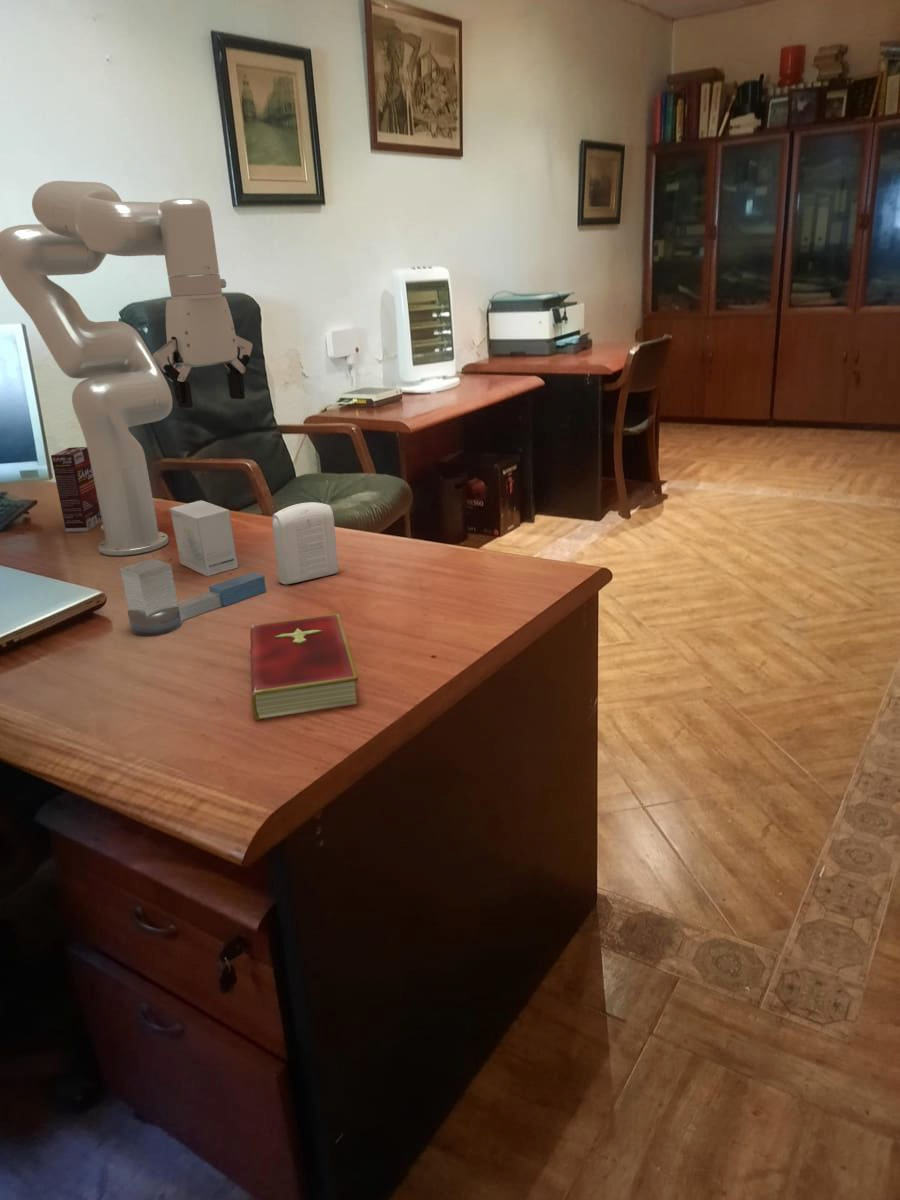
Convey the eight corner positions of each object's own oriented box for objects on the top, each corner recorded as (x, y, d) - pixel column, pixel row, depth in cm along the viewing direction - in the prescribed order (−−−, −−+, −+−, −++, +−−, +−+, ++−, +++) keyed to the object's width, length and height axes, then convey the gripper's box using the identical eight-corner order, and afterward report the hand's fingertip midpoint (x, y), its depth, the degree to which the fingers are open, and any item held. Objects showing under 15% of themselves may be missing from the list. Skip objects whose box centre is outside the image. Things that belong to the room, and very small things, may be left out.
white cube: (128, 610, 127) (120, 567, 124) (159, 599, 130) (151, 558, 128) (147, 617, 123) (138, 574, 121) (178, 606, 127) (170, 564, 125)
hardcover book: (254, 724, 99) (249, 690, 98) (252, 652, 118) (248, 623, 117) (361, 708, 101) (357, 675, 100) (341, 640, 121) (338, 611, 119)
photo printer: (331, 567, 149) (324, 496, 145) (343, 573, 146) (335, 500, 141) (274, 581, 144) (265, 507, 140) (285, 587, 141) (276, 512, 136)
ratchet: (121, 629, 127) (113, 584, 125) (246, 585, 143) (241, 545, 140) (147, 639, 123) (139, 594, 121) (273, 593, 138) (268, 552, 136)
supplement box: (88, 531, 179) (72, 454, 174) (65, 533, 179) (48, 455, 174) (104, 520, 187) (90, 446, 182) (82, 521, 187) (67, 447, 182)
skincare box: (178, 564, 155) (168, 506, 152) (211, 555, 159) (202, 499, 156) (205, 577, 148) (195, 516, 144) (239, 567, 152) (231, 508, 148)
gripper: (228, 286, 142) (243, 394, 148) (130, 292, 130) (150, 409, 136) (257, 284, 137) (270, 396, 143) (158, 291, 125) (177, 412, 131)
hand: (212, 402), depth 140 cm, fingers open, 9 cm apart
